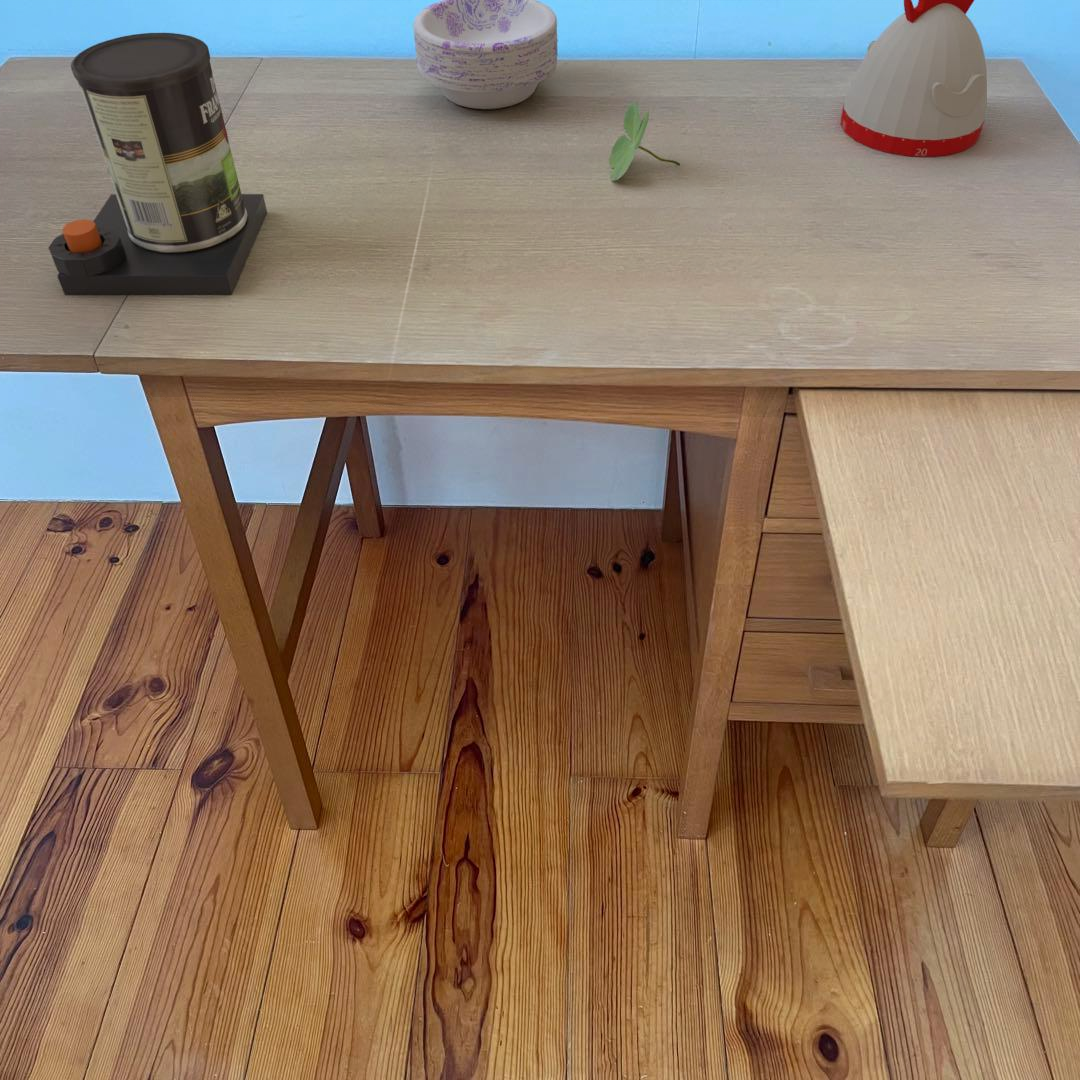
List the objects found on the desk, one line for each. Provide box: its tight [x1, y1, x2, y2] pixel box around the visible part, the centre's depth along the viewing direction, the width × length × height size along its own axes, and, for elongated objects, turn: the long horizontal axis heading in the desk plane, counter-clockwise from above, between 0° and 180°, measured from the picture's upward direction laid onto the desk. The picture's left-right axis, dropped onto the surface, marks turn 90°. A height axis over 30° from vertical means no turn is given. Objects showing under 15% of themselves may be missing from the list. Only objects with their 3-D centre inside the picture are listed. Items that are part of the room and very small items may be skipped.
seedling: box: [608, 101, 681, 182], centre depth 97 cm, size 7×8×7 cm
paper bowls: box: [412, 0, 559, 110], centre depth 108 cm, size 15×15×8 cm
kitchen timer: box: [840, 0, 988, 158], centre depth 98 cm, size 14×14×15 cm
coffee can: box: [70, 32, 248, 253], centre depth 83 cm, size 10×10×14 cm
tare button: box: [61, 218, 102, 253], centre depth 82 cm, size 3×3×2 cm
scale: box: [48, 193, 268, 296], centre depth 87 cm, size 15×14×4 cm
